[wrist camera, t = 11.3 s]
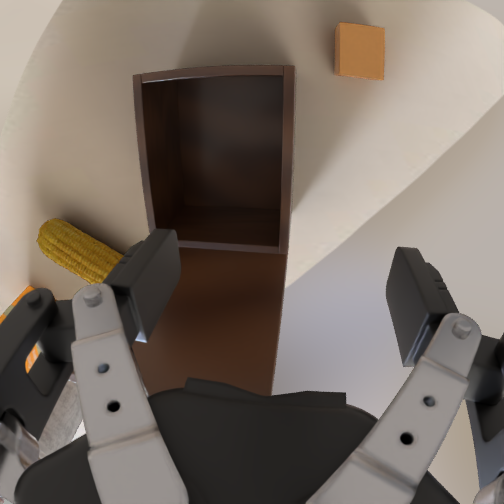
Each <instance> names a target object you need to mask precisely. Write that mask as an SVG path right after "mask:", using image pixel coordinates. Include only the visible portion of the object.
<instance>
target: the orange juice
mask: <svg viewBox="0 0 504 504" xmlns="http://www.w3.org/2000/svg"><path fill="white" fill-rule="evenodd" d="M34 289H35V288H33V287H31V286H30V285H29V286H28V287H27V288H26V289H25V290H24V291H23V293H22V294H21V295H20V296H19V297H18V298H17V299H16V300H15V301H14V302H13V303H12V304H11V305H10V306H9V307H8V308H7V309H6V311H5V312H4V313H3V314H2V315H1V317H0V324H1V323H2V321H3V320H4V319H5V318H6V316H7V315H8V314H9V313H10V311H11V310H12V309H13V308H14V306H15V305H16V304H17V303H18V301H19V300H20V299H21V298H22V297H23V296H24V295H25V294H27V293H28V292H30V291H32V290H34ZM55 301H56V300H55ZM40 352H41V351H40V349H39V347H38V345H37V344H36V345H35V346H34V348H33V349H32V351H31V352H30V354H29V355H28V357H27V359H26V363H25V367H26V371H27V373H28V372H29V370H30V369H31V367H32V365H33V364H34V362H35V361H36V359H37V357H38V356H39V354H40Z"/></svg>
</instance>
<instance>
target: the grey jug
mask: <svg viewBox="0 0 504 504" xmlns="http://www.w3.org/2000/svg"><path fill="white" fill-rule="evenodd" d="M82 419H83V417H82V412H81V407H80V402H79V397H78V392H77V386H76V383H75V382H72V381H69V380H68V381H67V383H66V385H65V387H64V389H63V391H62V393H61V395H60V397H59V399H58V401H57V403H56V405H55V407H54V409H53V411H52V413H51V415H50V417H49V420H48V422H47V424H46V426H45V428H44V430H43V432H42V435H41V437H40V439H39V441H38V444H39V448H40V453H39V457H40V458H41V459H42V458H44V457H45V456H47V455H49V454H51V453H53V452H55V451H56V450H58V449H60V448H62V447H64V446H65V445H67V444H69V443H70V442H71V440H72V439H73V437H74V435H75V433H76V431H77V429H78V427H79V425H80V423H81V422H82ZM4 499H5V498H1V497H0V504H3V503H4Z"/></svg>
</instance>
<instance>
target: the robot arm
mask: <svg viewBox="0 0 504 504" xmlns="http://www.w3.org/2000/svg"><path fill="white" fill-rule="evenodd" d="M180 276H181V262H180V254H179V247H178V239H177V233H176V231H175V230H173V229H154V230H153V231H152V232H151V233H150V235H149V236H148V237H147V238H146V239H145V241H142V240H141V241H140V242H138V243H137V244H135V245H133V246H132V247H131V248H130V249H129V250H128V251H127V252H126V253H125V255H124V257H122V258H121V259H120V261H119V263H117V264H116V266H115V267H114V268H113V269H112V271H111V272H110V273H109V274H108V275H107V277H106V278H105V279H104V281H103V282H102V283H96V284H91V285H88V286H85V287H83V288H82V289H80V290H79V291H78V292H77V293H76V294H75V295H74V297H73V300H61V301H55V299H54V296H53V294H52V292H51V291H50V290H49V289H46V288H38V289H34V290H32V291H30V292H28V293H27V294H25V295H24V296H23V297H22V298H21V299H20V300H19V301H18V303H17V304H16V305H15V306H14V308H13V309H12V310H11V311H10V313H9V314H8V315H7V316H6V318H5V319H4V320H3V321H2V323H1V324H0V497H1V498H5V499H7V500H8V501H10V502H11V503H13V504H460V503H459V502H458V501H457V500H456V499H455V498H454V497H453V496H452V495H451V494H450V493H449V492H448V491H447V490H446V489H445V488H444V487H443V486H442V485H441V484H440V483H439V482H438V481H437V480H436V479H435V478H434V477H433V476H432V474H431V473H430V472H429V471H428V470H427V469H428V468H429V466H430V464H431V462H432V461H433V459H434V457H435V455H436V454H437V452H438V450H439V448H440V446H441V444H442V442H443V440H444V438H445V436H446V434H447V432H448V430H449V428H450V426H451V424H452V422H453V420H454V417H455V416H456V414H457V411H458V409H459V407H460V405H461V402H462V400H463V399H465V400H466V405H467V410H468V414H469V419H470V424H471V429H472V435H473V441H474V447H475V454H476V461H477V469H478V477H479V487H480V491H479V492H478V493H477V495H476V496H475V499H474V501H473V504H504V333H503V335H502V337H501V339H500V340H499V339H495V338H491V337H488V336H484V335H482V334H481V330H480V327H479V326H478V324H477V323H476V322H475V321H474V320H473V319H471V318H470V317H468V316H466V315H464V314H461V313H459V311H458V309H457V307H456V305H455V303H454V301H453V299H452V297H451V295H450V293H449V291H448V290H447V287H446V285H445V283H444V282H443V279H442V277H441V275H440V273H439V272H438V271H437V270H436V269H435V268H434V267H433V266H432V265H431V264H430V263H426V262H425V261H424V259H423V257H422V255H421V253H420V252H419V250H418V249H417V248H408V247H397V249H396V251H395V255H394V258H393V262H392V266H391V269H390V273H389V277H388V280H387V285H386V299H387V303H388V306H389V310H390V314H391V317H392V322H393V326H394V329H395V333H396V337H397V341H398V346H399V350H400V354H401V359H402V363H403V367H414V369H413V370H412V372H411V373H410V375H409V377H408V378H407V380H406V381H405V383H404V384H403V386H402V387H401V389H400V390H399V392H398V393H397V395H396V396H395V398H394V399H393V401H392V402H391V403H390V405H389V406H388V408H387V409H386V410H385V412H384V413H383V415H382V416H381V417H380V419H379V420H378V419H377V418H376V417H374V416H373V415H371V414H370V413H368V412H366V411H364V410H362V409H360V408H357V407H355V406H352V405H348V404H346V393H342V392H318V391H303V392H296V393H289V394H281V395H272V396H262V395H259V394H256V393H253V392H250V391H247V390H244V389H241V388H239V387H236V386H233V385H230V384H227V383H224V382H217V381H210V380H204V379H198V378H192V377H187V380H186V383H185V386H184V388H174V389H169V390H164V391H161V392H158V393H155V394H153V395H149V392H148V390H147V387H146V385H145V382H144V379H143V377H142V374H141V371H140V368H139V366H138V363H137V360H136V357H135V354H134V351H133V348H132V345H133V343H134V341H135V340H136V341H141V342H146V343H147V342H148V340H149V338H150V336H151V334H152V332H153V330H154V328H155V326H156V324H157V322H158V320H159V318H160V316H161V314H162V312H163V311H164V309H165V307H166V305H167V303H168V301H169V299H170V297H171V295H172V293H173V291H174V290H175V288H176V286H177V284H178V282H179V280H180ZM36 344H37V345H38V347H39V349H40V351H41V352H40V354H39V356H38V357H37V359H36V361H35V362H34V364H33V365H32V367H31V369H30V370H29V372H28V373H27V371H26V367H25V363H26V359H27V357H28V355H29V354H30V352H31V351H32V349H33V348H34V346H35V345H36ZM73 370H74V373H75V380H76V386H77V392H78V397H79V402H80V407H81V412H82V417H83V422H84V426H85V430H86V434H85V435H83V436H81V437H80V438H78V439H76V440H74V441H73V442H71V443H69V444H67V445H65V446H64V447H62V448H60V449H58V450H56V451H55V452H53V453H51V454H49V455H47V456H45V457H44V458H42V459H41V458H40V457H39V453H40V448H39V444H38V441H39V439H40V437H41V435H42V432H43V430H44V428H45V426H46V424H47V422H48V420H49V417H50V415H51V413H52V411H53V409H54V407H55V405H56V403H57V401H58V399H59V397H60V395H61V393H62V391H63V389H64V387H65V385H66V383H67V381H68V379H69V377H70V376H71V374H72V372H73Z"/></svg>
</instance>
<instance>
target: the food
mask: <svg viewBox="0 0 504 504" xmlns="http://www.w3.org/2000/svg"><path fill="white" fill-rule="evenodd" d="M37 242H38V244H39V247H40V249H41V250H42V252H43V253H44V254H45V255H46V256H47V257H48V258H50V259H51V260H53V261H55V263H57V264H59V265H60V266H63V268H64V267H65V268H66V269H68V270H69V271H70V272H73V273H74V274H76V275H78V276H80V277H81V278H83V279H85V280H86V281H88V282H89V283H90V284H96V283H102V282H103V281H104V279H105V278H106V277H107V275H108V274H109V273H110V272H111V271H112V269H113V268H114V267H115V266H116V264H117V263H119V261H120V259H121V258H122V257H124V256H123V255H122V254H120V253H118V252H116V251H115V250H114V249H111V248H110V247H109V246H107V245H105V244H104V243H101V242H100V241H98V240H95V238H92V237H91V236H89V235H87V234H86V233H83V232H82V231H81V230H78V229H77V228H75V227H74V226H72V225H71V224H69V223H68V222H65V221H63V220H60V219H56V218H54V219H51V220H50V221H49V220H48V221H46V222H45V223H44V224H43V225H42V226H41V228H40V229H39V234H38V239H37Z"/></svg>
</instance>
